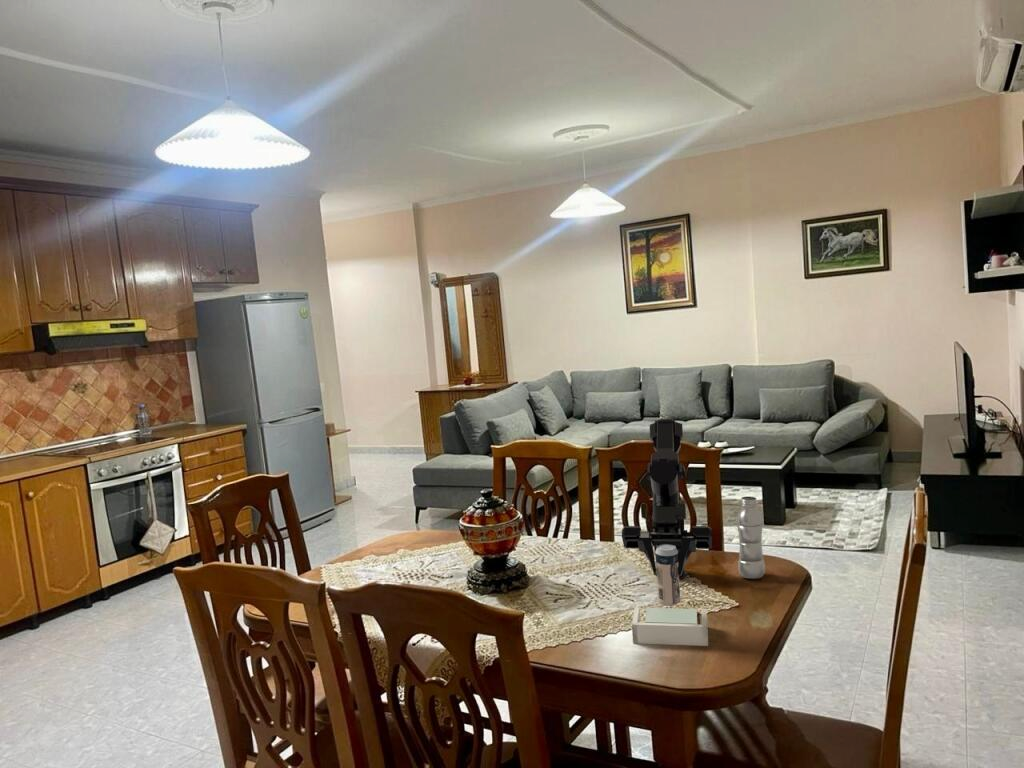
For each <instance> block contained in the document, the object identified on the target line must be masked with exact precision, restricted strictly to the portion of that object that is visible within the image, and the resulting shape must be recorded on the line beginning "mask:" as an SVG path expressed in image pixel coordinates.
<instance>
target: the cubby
mask: <svg viewBox="0 0 1024 768" xmlns="http://www.w3.org/2000/svg"><path fill="white" fill-rule="evenodd" d="M700 610H701V624H699V623H697V624H666V623H645V622H641V612H640V611H641V609H640V606H634V610H633V616H632V621H631V630H632V631H631V633H632V644H639V645H641V644H643V645H644V644H645V645H670V646H671V645H672V646H673V645H674V646H697V647H700V646H701V647H709V632H708V631H709V628H708V616H707V608H701V609H700Z"/></svg>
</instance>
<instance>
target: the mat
mask: <svg viewBox="0 0 1024 768" xmlns="http://www.w3.org/2000/svg"><path fill="white" fill-rule="evenodd" d="M645 611H646V613H645V620H644V623H666V624H698V610H697V608H674V607H673V608H672V607H671V608H670V607H669V608H668V607H667V608H666V607H665V608H664V607H646V610H645Z"/></svg>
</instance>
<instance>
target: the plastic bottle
mask: <svg viewBox="0 0 1024 768" xmlns="http://www.w3.org/2000/svg"><path fill="white" fill-rule="evenodd" d="M740 500H741V501H740V506H741V508H740V510H739V511H738V512H737V515H736V518H735V519H736V526H737V532H738V533H737V534H738V538H739V556H738V563H737V568H738V569H737V570H738V573H739V574H740V576H741V577H743V578H745V579H750V580H757V579H760V578H763V576H764V575H765V572H766V564H765V560H764V554H763V547H762V541H763V540H762V539H763V538H762V537H763V535H762V534H763V526H764V519H763V516H762V513H761V512H760V511H759V509H758V508H757V506H758V503H757V497H755V496H749V495H748V496H742V497H741V498H740Z"/></svg>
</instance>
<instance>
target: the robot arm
mask: <svg viewBox="0 0 1024 768" xmlns="http://www.w3.org/2000/svg"><path fill="white" fill-rule="evenodd" d="M683 428H684V427H683V423H680V422H678V421H676V420H675V419H673V418H668V419H667V418H664V419H656V420H654V422H652V423H650V424H649V440H650V442H652V446H653V449H654V451H655V452H653V453H652V454H651V456H650V462H649V463H647V472H646V476H647V480H650V485H651V490H652V516H651V528H652V531H649V530H642V529H641V525H625V526H623V528H622V529H621V539H622V544H623V548H624V549H627V550H628V549H631V550H632V549H637V550H639V552H641V553H644V555H645V556H646V558H647V560H648V562H649V564H650V568H651V571H652V573H653V576H655V577H657V572H656V558H655V555H656V553H655V551H656V549H657V546H659V545H664V544H669V545H674V546H676V548H677V550H678V565H679V580H681V579H682V578H684V577H686V576H687V575H690V573H691V571H690V570H685V568H686V567H685V566H686V563H687V562H688V560H689V558H690V556H691V554H692V553H696V552H697V550H711V549H712V548H713V534H712V533H713V531H712V528H711V527H710V526H709V525H692V527H691V528H692V531H688V530H687V529H685V523H684V520H687V511H686V510H687V509H686V503H680V494H679V493H680V491H679V483H680V480H683V477H685V476H686V468H685V466H684V465H683V463H682V462H679V461H680V460H679V459H680V458H679V451H680V450H681V447H682V446H681V441H684V429H683Z"/></svg>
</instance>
